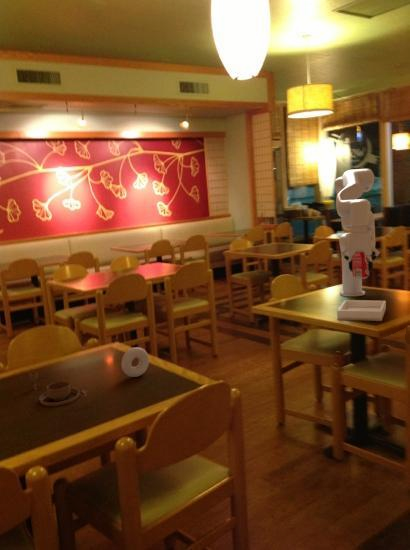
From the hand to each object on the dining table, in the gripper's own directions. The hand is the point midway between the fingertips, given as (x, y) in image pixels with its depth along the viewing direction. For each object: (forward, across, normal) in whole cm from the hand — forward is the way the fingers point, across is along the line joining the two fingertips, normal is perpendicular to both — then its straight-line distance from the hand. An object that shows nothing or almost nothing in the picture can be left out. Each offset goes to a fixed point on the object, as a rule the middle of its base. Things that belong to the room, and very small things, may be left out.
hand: (360, 270), depth 230 cm
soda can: (+3, 0, 0) cm, 3 cm away
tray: (+20, 0, 0) cm, 20 cm away
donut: (+19, +61, +90) cm, 111 cm away
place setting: (+20, +78, +110) cm, 136 cm away
